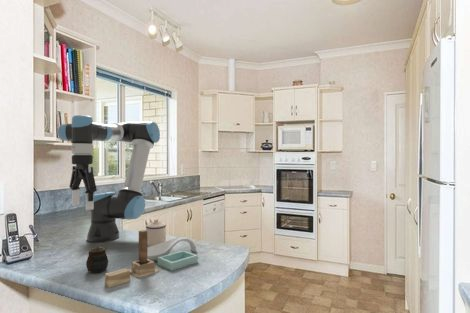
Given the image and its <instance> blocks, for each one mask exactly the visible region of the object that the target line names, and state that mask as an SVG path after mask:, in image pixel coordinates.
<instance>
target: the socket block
mask: <svg viewBox="0 0 470 313" xmlns="http://www.w3.org/2000/svg"><path fill="white" fill-rule="evenodd" d="M155 262H156V261H151V260H149V259H148V263H146V264H142V265H140V264H139V259H138V260H135V261H131V269H129V270H130V276H131V275H132V276H134V277H135V278H137V279H140V278H143V277H146V276H149V275H153V274H156V273H159V272H160V270H159V269H157V268H155V266H156V265H155Z"/></svg>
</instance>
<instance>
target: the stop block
mask: <svg viewBox="0 0 470 313" xmlns="http://www.w3.org/2000/svg"><path fill="white" fill-rule="evenodd" d="M130 270H131V269H129V268H126V267H125V268H121V269H117V270H115V271H110V272H106V273H104V286H106V287H108V288H112V287H115V286H118V285H122V284H125V283H127V282H131V274H130Z"/></svg>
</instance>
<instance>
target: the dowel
mask: <svg viewBox="0 0 470 313" xmlns="http://www.w3.org/2000/svg"><path fill="white" fill-rule="evenodd" d="M147 247H148V245H147V229H143V230H142V229H141V230H138V260H139V264H140V265H142V264H146V263H148V255H147Z"/></svg>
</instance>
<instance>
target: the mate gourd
mask: <svg viewBox="0 0 470 313" xmlns="http://www.w3.org/2000/svg"><path fill="white" fill-rule="evenodd" d="M106 251H107V250H106V248H105V247H102V246H100V247H99V246H97V247H92V248H90V249H89V250H88V257H87V259H86V262H85V265H86V269H87V272H89V273H91V274H99V273H102V272H104V271H105V270H106V269H107V268H108V264H109V258H108V256H107V253H106Z"/></svg>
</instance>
